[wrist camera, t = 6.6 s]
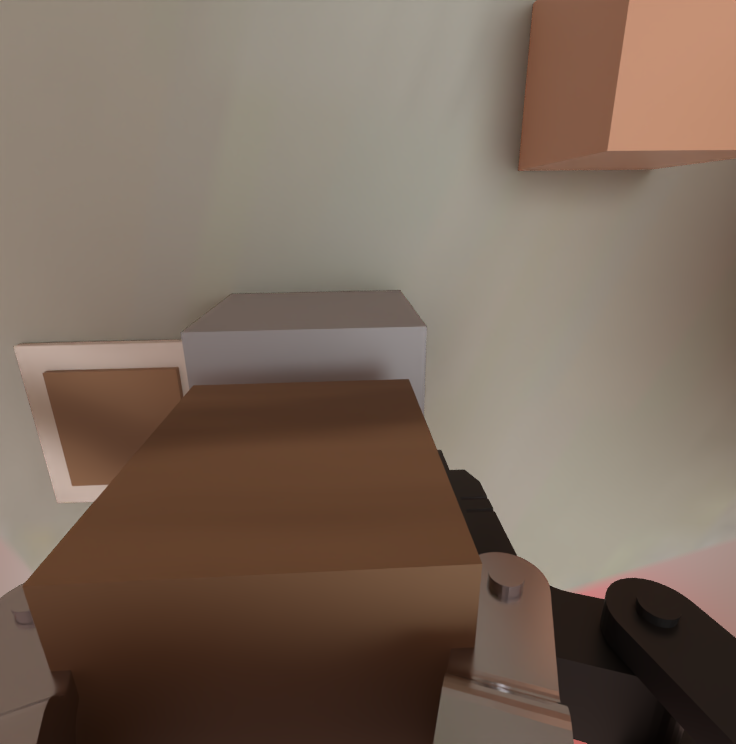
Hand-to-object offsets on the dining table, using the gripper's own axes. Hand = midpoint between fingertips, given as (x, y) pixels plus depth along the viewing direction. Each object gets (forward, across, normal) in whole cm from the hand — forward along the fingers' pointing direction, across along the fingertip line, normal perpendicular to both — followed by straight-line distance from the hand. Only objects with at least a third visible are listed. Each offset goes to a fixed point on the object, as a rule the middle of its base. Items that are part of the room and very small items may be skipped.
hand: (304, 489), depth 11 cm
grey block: (+9, 0, 0) cm, 9 cm away
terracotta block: (+8, -10, -10) cm, 16 cm away
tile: (+8, +8, +2) cm, 12 cm away
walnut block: (+1, 0, 0) cm, 1 cm away
